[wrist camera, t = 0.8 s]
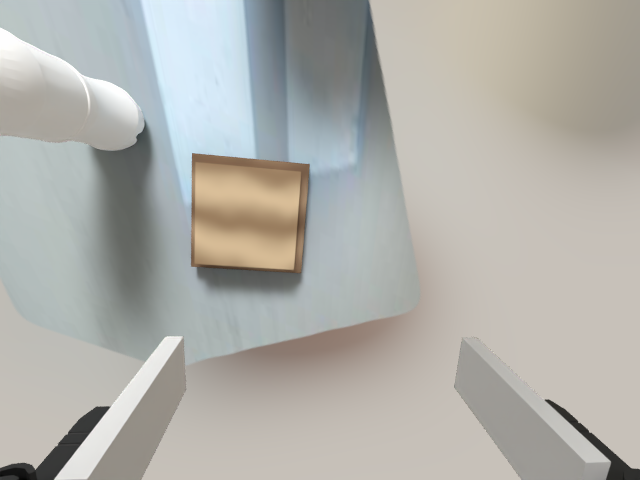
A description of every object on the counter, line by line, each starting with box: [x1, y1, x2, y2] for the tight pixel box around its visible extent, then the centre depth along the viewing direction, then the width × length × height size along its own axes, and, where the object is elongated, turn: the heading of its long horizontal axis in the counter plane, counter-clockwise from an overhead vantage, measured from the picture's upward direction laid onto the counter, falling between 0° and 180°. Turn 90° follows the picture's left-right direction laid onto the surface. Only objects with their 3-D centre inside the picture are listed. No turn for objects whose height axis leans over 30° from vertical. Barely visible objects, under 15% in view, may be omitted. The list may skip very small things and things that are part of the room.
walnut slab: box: [191, 153, 310, 273], centre depth 40 cm, size 14×14×2 cm
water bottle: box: [0, 28, 144, 151], centre depth 25 cm, size 7×7×25 cm
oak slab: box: [195, 162, 301, 270], centre depth 38 cm, size 12×12×2 cm
